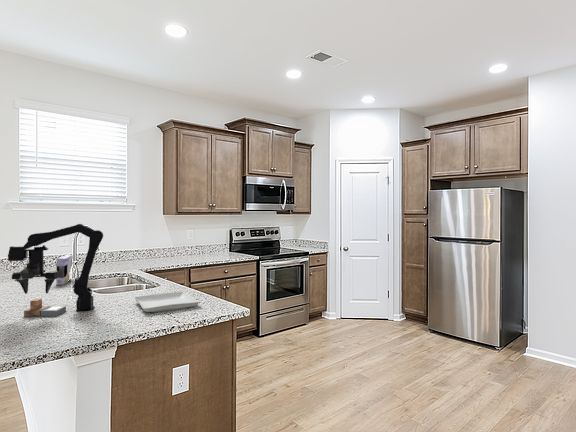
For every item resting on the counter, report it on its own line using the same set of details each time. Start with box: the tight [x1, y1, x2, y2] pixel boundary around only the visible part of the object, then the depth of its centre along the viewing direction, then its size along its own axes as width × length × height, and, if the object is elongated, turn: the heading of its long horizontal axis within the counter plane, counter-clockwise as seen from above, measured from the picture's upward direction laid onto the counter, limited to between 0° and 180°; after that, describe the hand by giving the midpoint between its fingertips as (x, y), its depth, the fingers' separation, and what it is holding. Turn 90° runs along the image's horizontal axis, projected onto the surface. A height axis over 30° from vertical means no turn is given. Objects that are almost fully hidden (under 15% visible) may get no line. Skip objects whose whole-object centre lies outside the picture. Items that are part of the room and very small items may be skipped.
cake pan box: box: [55, 254, 74, 286], centre depth 248 cm, size 19×5×18 cm, turn 14°
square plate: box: [133, 291, 200, 313], centre depth 190 cm, size 27×27×4 cm
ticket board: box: [40, 305, 67, 317], centre depth 173 cm, size 7×8×3 cm
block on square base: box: [23, 298, 50, 317], centre depth 173 cm, size 7×8×6 cm
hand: (36, 293), depth 173 cm, fingers open, 9 cm apart
